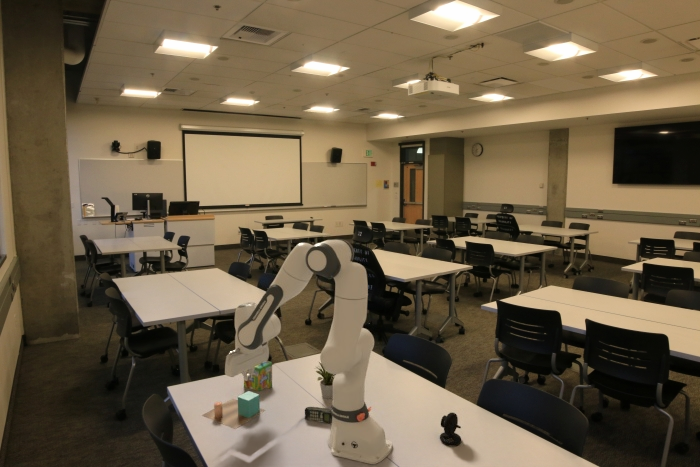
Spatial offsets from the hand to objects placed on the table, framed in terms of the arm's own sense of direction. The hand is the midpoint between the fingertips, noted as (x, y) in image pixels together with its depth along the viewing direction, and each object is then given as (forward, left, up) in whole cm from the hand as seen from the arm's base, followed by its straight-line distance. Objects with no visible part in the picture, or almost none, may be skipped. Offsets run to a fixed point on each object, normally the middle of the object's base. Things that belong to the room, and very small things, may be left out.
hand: (248, 379), depth 172 cm
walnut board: (+5, +3, -15) cm, 16 cm away
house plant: (-17, -29, -15) cm, 37 cm away
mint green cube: (0, 0, -14) cm, 14 cm away
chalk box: (+14, -20, -15) cm, 29 cm away
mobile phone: (-27, -13, -16) cm, 33 cm away
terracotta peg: (+8, +8, -14) cm, 18 cm away
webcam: (-72, -26, -15) cm, 78 cm away
